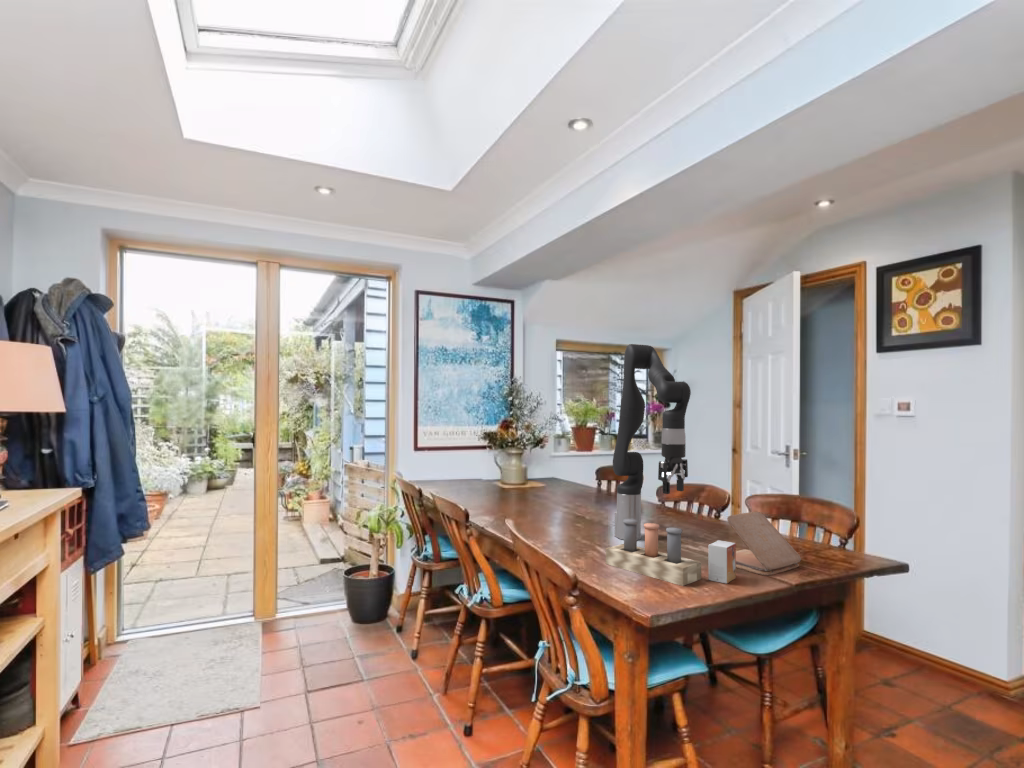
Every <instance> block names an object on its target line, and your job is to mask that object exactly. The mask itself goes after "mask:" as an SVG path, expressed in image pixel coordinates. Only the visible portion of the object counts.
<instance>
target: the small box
mask: <svg viewBox="0 0 1024 768" xmlns="http://www.w3.org/2000/svg"><path fill="white" fill-rule="evenodd" d="M707 549H708V553H707V556H708V557H707V560H708V563H707V565H708V568H707V569H708V571H707V573H708V581H712V582H717V583H721V584H722V583H723V584H726V585H727V584H728V583H730V582H732V581H733V580H735V579H736V578H737V577H736V576H737V568H736V551H737V543H736V542H731V541H725V540H720V539H717V540H716V541H715V542H712V543H710V544H708V547H707Z"/></svg>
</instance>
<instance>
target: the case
mask: <svg viewBox="0 0 1024 768" xmlns="http://www.w3.org/2000/svg"><path fill="white" fill-rule="evenodd" d="M726 519H727V523H728V524H729V525H730V527H731V528H732V529H733V530H734V532H735V533H736V535H738V536H739V538H740V539H741V541H742V542H743V543H744V544H745V546H746V547H747V548H748V549H744V548H743V549H739V550H736V569H737V570H738V569H739V570H742V571H746V572H748V573H752V574H757V575H760V576H764V577H765V576H768V577H769V576H773V575H775V574H780V573H783V572H787V571H790V570H794V569H796V568H799V563H800V562H801V560H802V558H801V556H800V554H799V553H798V552H797V551H796V549H794V547H793V546H792V545H791V544H790V543H789V542H788V541H787V540H786V538H785V537H784V535H782V533H780V531H779V530H778V529H777V528H776V527H775V526H774V524H773V523H771V522H770V520H769V519H768V518H767V517H766V516H765V515H764V514H763V513H761V512H759V511H750V512H742V513H738V514H731V515H728V516H727V518H726Z"/></svg>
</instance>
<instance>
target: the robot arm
mask: <svg viewBox="0 0 1024 768" xmlns="http://www.w3.org/2000/svg"><path fill="white" fill-rule="evenodd" d="M624 350H625V351H624V357H623V379H622V380H623V384H622V393H621V400H620V406H619V407H620V408H619V418H618V428H617V436H616V442H615V447H614V452H613V455H612V456H613V457H612V469H613V474H615V475H616V476H618V477H626V476H627V478H626V480H625V481H623V482H622V483H620V484H618V485H617V486H616V511H614V537H616V538H617V539H620V540H623V541H624V523H623V520H624V519H634V520H638V524H637V541H639V540H641V538H642V523H641V522H642V513H641V512H642V488H643V483H644V481H643V479H644V460H643V456H642V455H641V453H640V452H638V451H629V446H630V444H631V442H632V439H633V438H634V436H635V434H636V433H637V432H638V431H639V429H640V427H641V426H642V424H643V423H644V419H645V411H646V409H645V408H646V403H645V399H644V396H643V395H642V392H641V391H640V389H639V387H638V384H637V380H636V375H635V373H636V372H635V371H636V369H637V370H648V372H647V376H648V380H649V382H650V383H651V385H653V387H654V388H655V390H656V395H657V396H656V397H657V398H658V400H659V401H660V402H662V403H666V404H667V403H668V404H669V403H670V404H675V406H674V408H671V409H667V410H664V411H663V413H662V426H661V427H662V428H661V429H662V431H661V457H663V458H664V461H660V460H659V461H658V473H657V480H659V481H661V482H662V494H665V495H669V494H671V482H670V481H671V479H672V478H673V477H674V476H675V477H676V491H677V492H684V490H685V488H684V487H685V486H684V485H685V484H684V483H685V482H684V481H685V480H686V478H688V475H689V471H688V469H689V468H688V466H689V465H688V464H689V463H688V459H685V457H686V440H687V439H686V429H685V428H686V422H685V421H686V412H687V408H688V406H689V405H688V404H689V402H690V399H691V395H692V392H691V387H690V385H689V384H688V383H687V382H685V381H676V379H675V377H674V375H673V374H672V373H671V372H670V371H669V370H668V369H667V368H666V367H665V365H664V364H663V362H662V359H661V357H660V356H659V354H658V352H657V351H656V349H655V348H654V347H653V345H652V346H651V345H649V344H637V343H634V344H633V343H630V344H628V345H627V346H626V347H625V349H624Z"/></svg>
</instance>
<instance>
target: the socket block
mask: <svg viewBox="0 0 1024 768" xmlns="http://www.w3.org/2000/svg"><path fill="white" fill-rule="evenodd" d="M605 564H606V565H608V566H611V567H615V568H618V569H622V570H625V571H629V572H632V573H636V574H640V575H643V576H646V577H649V578H654V579H658V580H661V581H665V582H666V583H671V584H674V585H678V586H682V587H684V586H686V585H689V584H692V583H694V582H697V581H700V580H702V562H701V561H699V560H695V559H694V560H693V559H690V558H686V557H683V556H681V563H678V564H675V563H671V562H667V552H662V551H658V557H655V558H652V557H648V556H645V547H640V546H637V551H636V552H628V551H624V543H621V544H617V545H613V546H609V547H605Z"/></svg>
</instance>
